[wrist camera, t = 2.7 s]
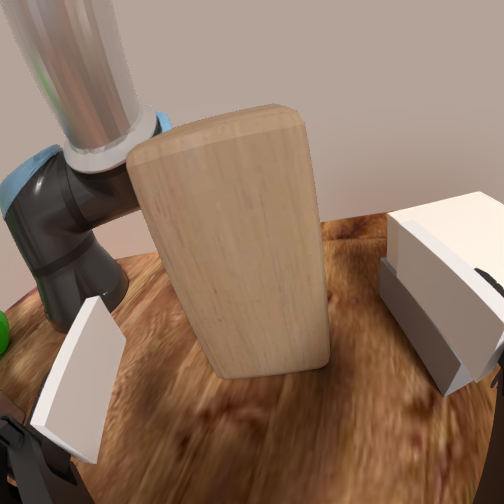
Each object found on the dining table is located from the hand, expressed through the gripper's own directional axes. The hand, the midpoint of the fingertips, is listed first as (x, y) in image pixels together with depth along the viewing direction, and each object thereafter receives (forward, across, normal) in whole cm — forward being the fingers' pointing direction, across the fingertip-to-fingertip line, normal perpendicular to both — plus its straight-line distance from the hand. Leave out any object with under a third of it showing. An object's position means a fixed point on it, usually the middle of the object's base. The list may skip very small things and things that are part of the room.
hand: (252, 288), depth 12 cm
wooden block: (+10, 0, -14) cm, 17 cm away
